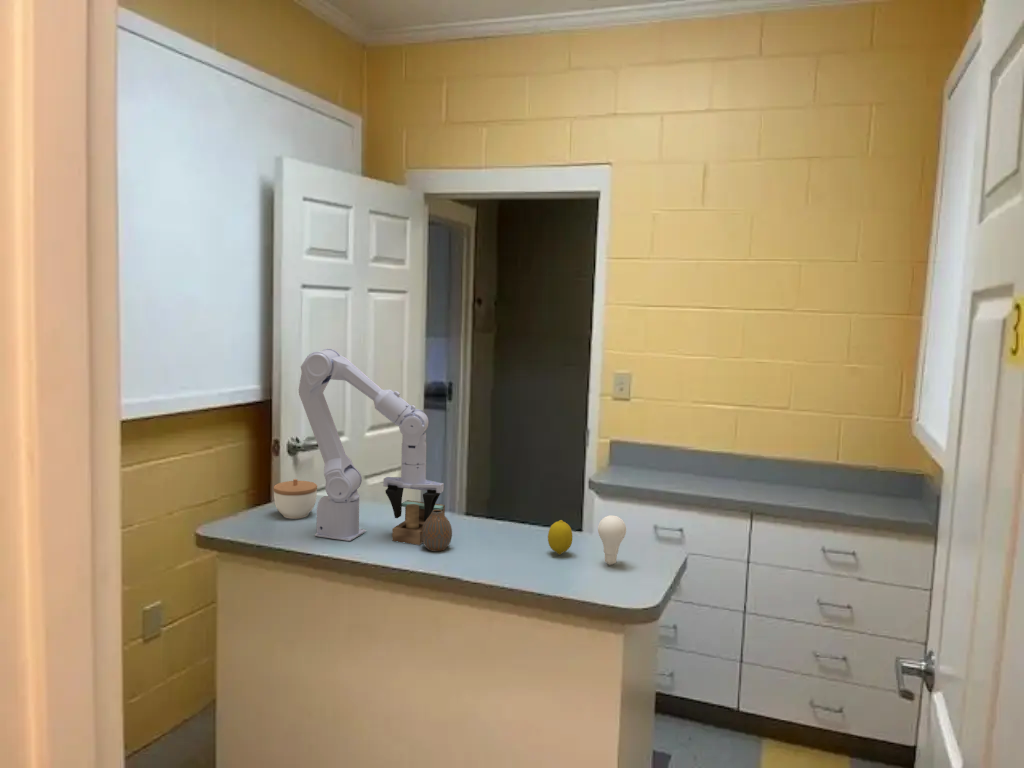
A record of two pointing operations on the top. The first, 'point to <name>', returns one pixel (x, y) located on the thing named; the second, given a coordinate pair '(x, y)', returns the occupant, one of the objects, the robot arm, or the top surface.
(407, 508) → the oak peg
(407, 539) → the brown boxy frame piece
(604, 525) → the lightbulb
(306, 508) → the lidded jar
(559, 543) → the lemon
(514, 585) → the top surface
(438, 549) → the vase
